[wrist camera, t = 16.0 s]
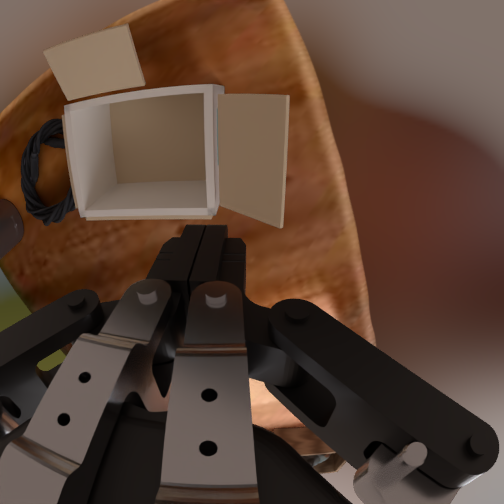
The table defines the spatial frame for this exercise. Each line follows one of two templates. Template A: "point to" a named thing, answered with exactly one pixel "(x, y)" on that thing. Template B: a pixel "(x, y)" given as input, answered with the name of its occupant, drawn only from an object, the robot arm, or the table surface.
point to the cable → (31, 174)
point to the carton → (145, 154)
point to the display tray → (311, 447)
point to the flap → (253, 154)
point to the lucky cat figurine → (316, 459)
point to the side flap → (96, 63)
